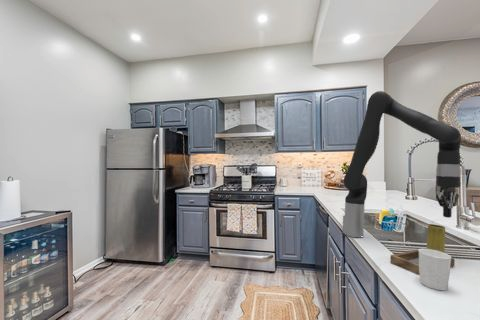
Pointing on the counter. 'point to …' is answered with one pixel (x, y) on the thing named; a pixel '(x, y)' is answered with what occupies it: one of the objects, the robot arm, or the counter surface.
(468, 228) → the counter surface
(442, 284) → the white cup
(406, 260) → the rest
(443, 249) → the vase
